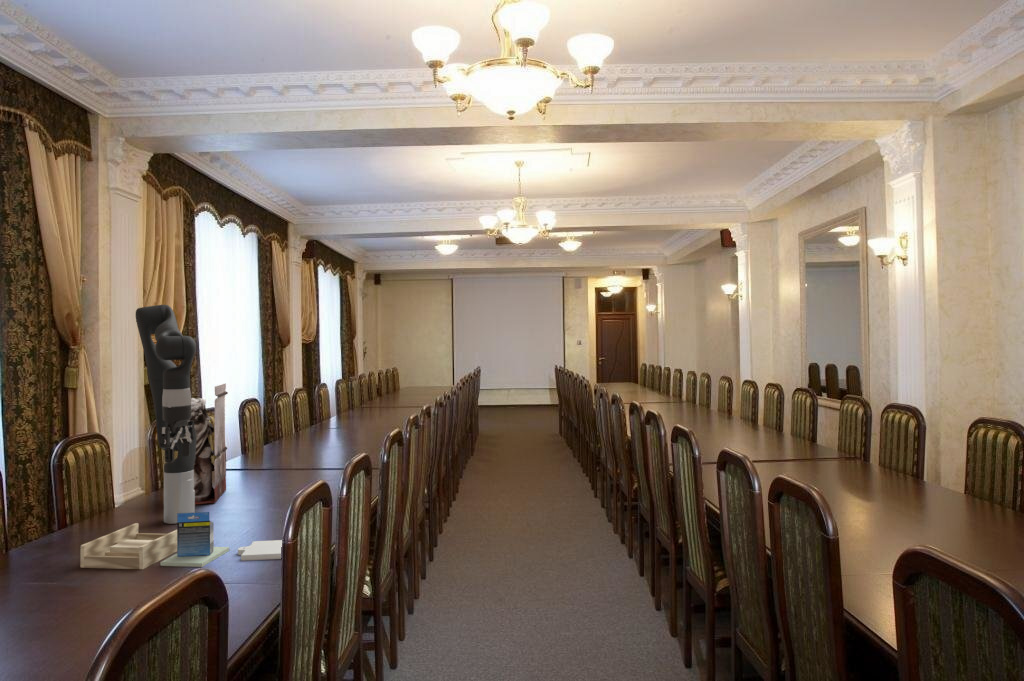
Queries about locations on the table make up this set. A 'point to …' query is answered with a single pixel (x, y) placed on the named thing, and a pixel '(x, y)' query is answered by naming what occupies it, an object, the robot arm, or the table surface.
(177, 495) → the robot arm
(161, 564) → the pad
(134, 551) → the offcut stack
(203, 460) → the cherub statue
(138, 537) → the wooden tray
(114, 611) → the table surface
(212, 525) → the label tape cartridge
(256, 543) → the mounting plate
